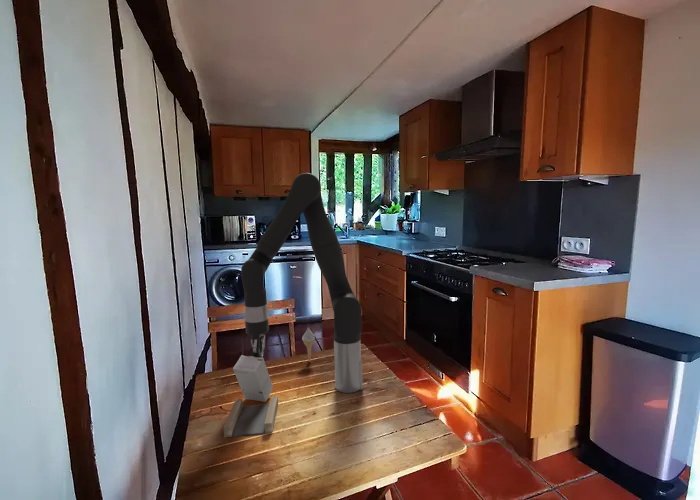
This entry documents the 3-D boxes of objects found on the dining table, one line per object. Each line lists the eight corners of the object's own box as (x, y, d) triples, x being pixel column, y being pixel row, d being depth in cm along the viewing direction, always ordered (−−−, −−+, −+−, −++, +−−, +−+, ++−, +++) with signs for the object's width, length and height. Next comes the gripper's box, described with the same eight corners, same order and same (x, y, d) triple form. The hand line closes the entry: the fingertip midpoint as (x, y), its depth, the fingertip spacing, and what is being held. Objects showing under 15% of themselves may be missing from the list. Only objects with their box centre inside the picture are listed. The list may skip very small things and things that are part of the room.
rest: (278, 404, 106) (277, 395, 105) (272, 433, 92) (271, 423, 92) (236, 408, 105) (235, 399, 104) (224, 437, 91) (223, 427, 90)
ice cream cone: (317, 359, 139) (316, 324, 137) (314, 365, 133) (313, 329, 132) (304, 358, 139) (303, 324, 138) (301, 364, 134) (299, 329, 132)
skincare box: (244, 399, 109) (230, 369, 102) (253, 384, 114) (240, 354, 107) (267, 402, 107) (254, 372, 100) (275, 386, 112) (263, 356, 105)
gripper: (264, 323, 103) (267, 376, 105) (271, 311, 116) (273, 358, 118) (240, 325, 103) (243, 378, 104) (249, 312, 116) (252, 360, 117)
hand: (259, 367), depth 111 cm, fingers closed
